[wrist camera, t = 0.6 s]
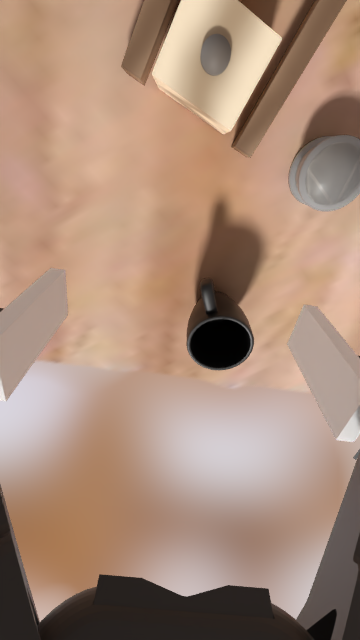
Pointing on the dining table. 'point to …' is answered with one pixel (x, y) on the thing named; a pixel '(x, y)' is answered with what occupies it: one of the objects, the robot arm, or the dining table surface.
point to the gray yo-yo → (327, 172)
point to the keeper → (214, 59)
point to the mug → (218, 330)
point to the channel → (284, 78)
